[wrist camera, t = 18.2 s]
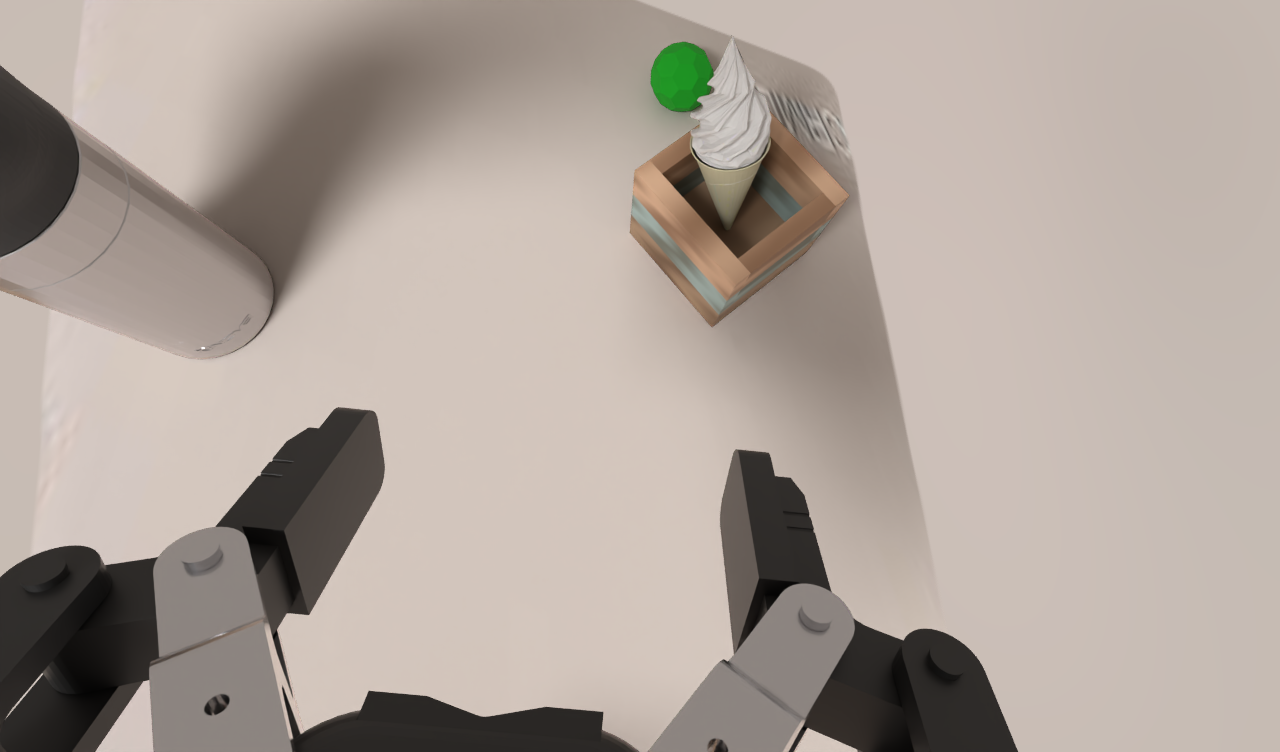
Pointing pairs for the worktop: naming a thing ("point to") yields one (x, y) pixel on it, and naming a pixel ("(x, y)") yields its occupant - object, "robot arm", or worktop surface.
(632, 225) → the square wooden crate
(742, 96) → the ice cream cone
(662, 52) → the polyhedron
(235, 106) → the worktop surface
